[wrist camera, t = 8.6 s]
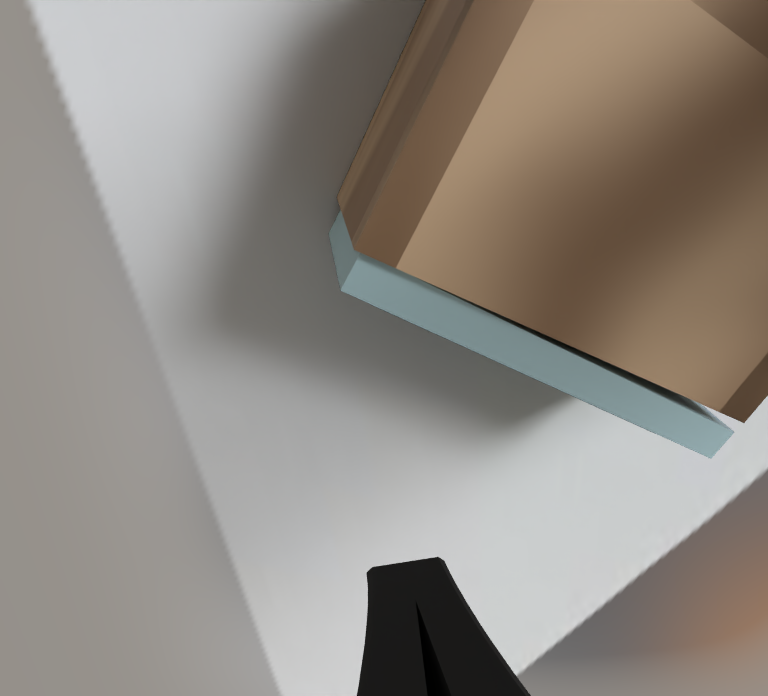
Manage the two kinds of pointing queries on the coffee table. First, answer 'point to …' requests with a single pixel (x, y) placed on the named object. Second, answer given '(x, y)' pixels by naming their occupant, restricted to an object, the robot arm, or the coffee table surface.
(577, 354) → the door
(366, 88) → the coffee table surface
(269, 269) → the coffee table surface
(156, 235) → the coffee table surface
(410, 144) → the wooden paneled box
